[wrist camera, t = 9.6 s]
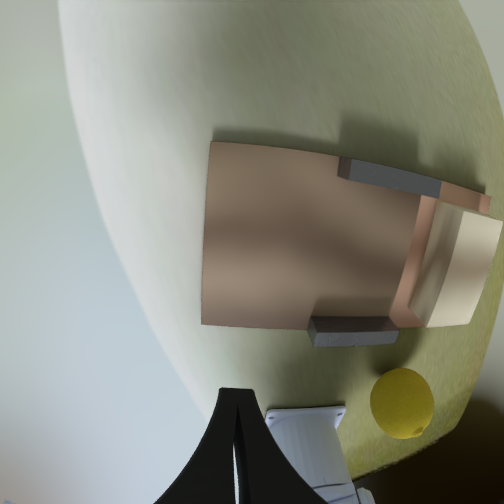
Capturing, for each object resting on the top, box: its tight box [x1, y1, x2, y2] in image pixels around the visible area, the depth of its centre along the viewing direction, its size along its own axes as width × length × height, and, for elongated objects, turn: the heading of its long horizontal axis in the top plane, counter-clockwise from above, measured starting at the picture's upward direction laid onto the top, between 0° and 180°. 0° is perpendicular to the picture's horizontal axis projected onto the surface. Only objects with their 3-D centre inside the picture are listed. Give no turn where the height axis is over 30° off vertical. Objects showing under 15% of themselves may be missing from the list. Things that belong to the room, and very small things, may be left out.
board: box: [201, 141, 491, 330], centre depth 19 cm, size 12×22×1 cm, turn 84°
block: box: [408, 200, 503, 328], centre depth 17 cm, size 8×5×3 cm, turn 174°
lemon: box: [370, 368, 434, 439], centre depth 20 cm, size 6×6×8 cm
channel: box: [307, 157, 442, 347], centre depth 17 cm, size 12×6×2 cm, turn 174°
